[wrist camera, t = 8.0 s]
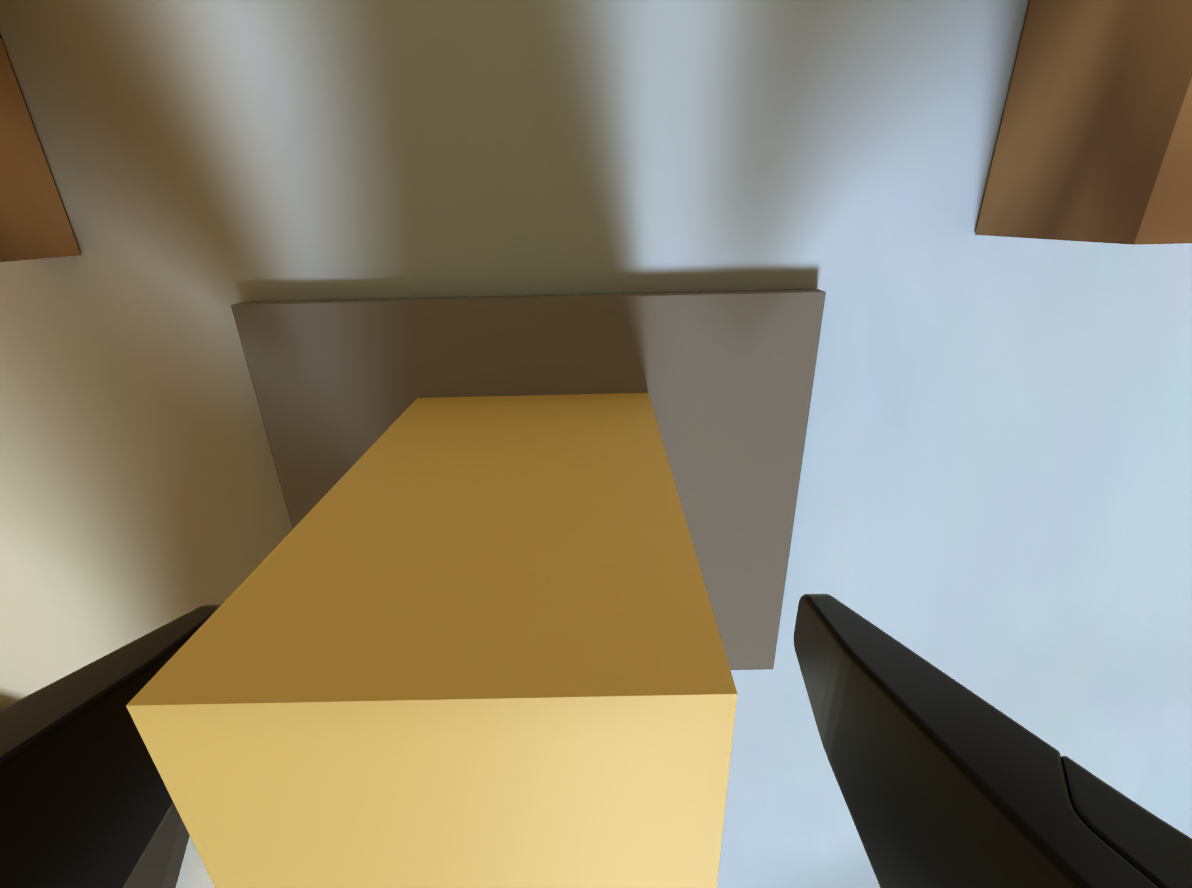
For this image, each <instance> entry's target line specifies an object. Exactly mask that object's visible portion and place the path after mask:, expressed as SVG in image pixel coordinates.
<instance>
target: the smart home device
mask: <svg viewBox="0 0 1192 888" xmlns="http://www.w3.org/2000/svg"><path fill="white" fill-rule="evenodd" d="M188 839H189V833H188V831H187V829H186V827H185V825H184V823H183V821H182V819H181V817H180V814H179V812H178V810H177V808H176V806H175V804H174V803H173V804H172V806H171V808H170V809H169V811H168V813H167V815H166V816H165V818H164V820H163V821H162V823H161V825H160V826H159V828H158V830H157V832H156V833H155V835H154V837H153V838H152V840H151V842H150V843H149V845H148V847H147V849H146V850H145V852H144V854H143V855H142V857H141V859H140V861H139V862H138V864H137V866H136V867H135V869H134V871H133V872H132V874H131V876H130V878H129V879H128V881H127V883H126V884H125V886H124V888H175V887H176V883H177V880H178V876H179V872H180V869H181V865H182V861H183V857H184V854H185V850H186V846H187V843H188Z"/></svg>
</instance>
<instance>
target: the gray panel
mask: <svg viewBox="0 0 1192 888" xmlns="http://www.w3.org/2000/svg"><path fill="white" fill-rule="evenodd" d="M825 293H826V292H824V291H821V290H819V289H812V290H767V291H723V292H678V293H633V294H588V295H544V296H499V297H454V298H409V299H364V300H320V301H275V302H242V303H238V304H234V305H231V307H232V311H233V314H234V318H235V321H236V325H237V329H238V332H239V336H240V339H241V343H242V347H243V350H244V354H245V357H246V361H247V365H248V368H249V372H250V375H251V379H252V383H253V386H254V390H255V393H256V397H257V401H258V404H259V408H260V411H261V415H262V419H263V422H264V426H265V429H266V433H267V437H268V440H269V444H270V447H271V451H272V455H273V458H274V462H275V465H276V469H277V473H278V476H279V480H280V483H281V487H282V491H283V494H284V498H285V501H286V505H287V509H288V512H289V516H290V519H291V523H292V527H293V529H294V528H295V527H296V525H297V524H298V523H299V522H300V521H301V520H302V519H303V518H304V517H305V516H306V515H307V514H308V513H309V512H310V511H311V510H312V509H313V507H314V506H315V505H316V504H317V503H318V502H319V501H320V500H321V499H322V498H323V497H324V496H325V495H326V494H327V493H328V492H329V491H330V490H331V488H332V487H333V486H334V485H335V484H336V483H337V482H338V481H339V480H340V479H341V478H342V477H343V476H344V475H345V474H346V473H347V472H348V471H349V469H350V468H351V467H352V466H353V465H354V464H355V463H356V462H357V461H358V460H359V459H360V458H361V457H362V456H363V455H364V454H365V453H366V451H367V450H368V449H369V448H370V447H371V446H372V445H373V444H374V443H375V442H376V441H377V440H378V439H379V438H380V437H381V436H382V435H383V434H384V432H385V431H386V430H387V429H388V428H389V427H390V426H391V425H392V424H393V423H394V422H395V421H396V420H397V419H398V418H399V417H400V416H401V414H402V413H403V412H404V411H405V410H406V409H407V408H408V407H409V406H410V405H411V404H412V403H413V402H414V401H415V400H416V399H417V398H439V397H483V396H527V395H571V394H615V393H648V394H649V398H650V401H651V404H652V408H653V411H654V414H655V418H656V421H657V425H658V428H659V431H660V435H661V438H662V441H663V445H664V448H665V452H666V455H667V458H668V462H669V465H670V468H671V472H672V475H673V479H674V482H675V485H676V489H677V492H678V495H679V499H680V502H681V506H682V509H683V512H684V516H685V519H686V522H687V526H688V529H689V533H690V536H691V539H692V543H693V546H694V549H695V553H696V556H697V560H698V563H699V566H700V570H701V573H702V576H703V580H704V583H705V587H706V590H707V593H708V597H709V600H710V603H711V607H712V610H713V614H714V617H715V620H716V624H717V627H718V630H719V634H720V637H721V641H722V644H723V647H724V651H725V654H726V657H727V661H728V664H729V668H730V670H753V669H773V666H774V659H775V652H776V645H777V637H778V630H779V623H780V616H781V609H782V602H783V594H784V587H785V580H786V573H787V566H788V559H789V551H790V544H791V537H792V530H793V523H794V516H795V508H796V501H797V494H798V487H799V480H800V473H801V465H802V458H803V451H804V444H805V437H806V430H807V422H808V415H809V408H810V401H811V394H812V387H813V379H814V372H815V365H816V358H817V351H818V344H819V336H820V329H821V322H822V315H823V308H824V301H825Z"/></svg>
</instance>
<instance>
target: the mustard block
mask: <svg viewBox="0 0 1192 888" xmlns="http://www.w3.org/2000/svg"><path fill="white" fill-rule="evenodd" d="M736 701H737V691H736V688H735V684H734V681H733V678H732V674H731V671H730V668H729V664H728V661H727V657H726V654H725V651H724V647H723V644H722V641H721V637H720V634H719V630H718V627H717V624H716V620H715V617H714V614H713V610H712V607H711V603H710V600H709V597H708V593H707V590H706V587H705V583H704V580H703V576H702V573H701V570H700V566H699V563H698V560H697V556H696V553H695V549H694V546H693V543H692V539H691V536H690V533H689V529H688V526H687V522H686V519H685V516H684V512H683V509H682V506H681V502H680V499H679V495H678V492H677V489H676V485H675V482H674V479H673V475H672V472H671V468H670V465H669V462H668V458H667V455H666V452H665V448H664V445H663V441H662V438H661V435H660V431H659V428H658V425H657V421H656V418H655V414H654V411H653V408H652V404H651V401H650V398H649V394H648V393H615V394H571V395H527V396H483V397H439V398H417V399H416V400H415V401H414V402H413V403H412V404H411V405H410V406H409V407H408V408H407V409H406V410H405V411H404V412H403V413H402V414H401V416H400V417H399V418H398V419H397V420H396V421H395V422H394V423H393V424H392V425H391V426H390V427H389V428H388V429H387V430H386V431H385V432H384V434H383V435H382V436H381V437H380V438H379V439H378V440H377V441H376V442H375V443H374V444H373V445H372V446H371V447H370V448H369V449H368V450H367V451H366V453H365V454H364V455H363V456H362V457H361V458H360V459H359V460H358V461H357V462H356V463H355V464H354V465H353V466H352V467H351V468H350V469H349V471H348V472H347V473H346V474H345V475H344V476H343V477H342V478H341V479H340V480H339V481H338V482H337V483H336V484H335V485H334V486H333V487H332V488H331V490H330V491H329V492H328V493H327V494H326V495H325V496H324V497H323V498H322V499H321V500H320V501H319V502H318V503H317V504H316V505H315V506H314V507H313V509H312V510H311V511H310V512H309V513H308V514H307V515H306V516H305V517H304V518H303V519H302V520H301V521H300V522H299V523H298V524H297V525H296V527H295V528H294V529H293V530H292V531H291V532H290V533H289V534H288V535H287V536H286V537H285V538H284V539H283V540H282V541H281V542H280V543H279V544H278V546H277V547H276V548H275V549H274V550H273V551H272V552H271V553H270V554H269V555H268V556H267V557H266V558H265V559H264V560H263V561H262V562H261V563H260V565H259V566H258V567H257V568H256V569H255V570H254V571H253V572H252V573H251V574H250V575H249V576H248V577H247V578H246V579H245V580H244V581H243V583H242V584H241V585H240V586H239V587H238V588H237V589H236V590H235V591H234V592H233V593H232V594H231V595H230V596H229V597H228V598H227V599H226V600H225V602H224V603H223V604H222V605H221V606H220V607H219V608H218V609H217V610H216V611H215V612H214V613H213V614H212V615H211V616H210V617H209V618H208V620H207V621H206V622H205V623H204V624H203V625H202V626H201V627H200V628H199V629H198V630H197V631H196V632H195V633H194V634H193V635H192V636H191V637H190V639H189V640H188V641H187V642H186V643H185V644H184V645H183V646H182V647H181V648H180V649H179V650H178V651H177V652H176V653H175V654H174V655H173V656H172V658H171V659H170V660H169V661H168V662H167V663H166V664H165V665H164V666H163V667H162V668H161V669H160V670H159V671H158V672H157V673H156V674H155V676H154V677H153V678H152V679H151V680H150V681H149V682H148V683H147V684H146V685H145V686H144V687H143V688H142V689H141V690H140V691H139V692H138V693H137V695H136V696H135V697H134V698H133V699H132V700H131V701H130V702H129V703H128V704H127V705H126V707H127V709H128V711H129V713H130V715H131V717H132V719H133V721H134V723H135V725H136V727H137V729H138V731H139V733H140V735H141V737H142V739H143V741H144V743H145V745H146V747H147V750H148V752H149V754H150V756H151V758H152V760H153V762H154V764H155V766H156V768H157V770H158V772H159V774H160V776H161V778H162V780H163V782H164V784H165V786H166V788H167V790H168V792H169V794H170V796H171V798H172V800H173V802H174V804H175V806H176V808H177V810H178V812H179V814H180V817H181V819H182V821H183V823H184V825H185V827H186V829H187V831H188V833H189V835H190V837H191V839H192V841H193V843H194V845H195V847H196V849H197V851H198V853H199V855H200V857H201V859H202V861H203V863H204V865H205V867H206V869H207V871H208V873H209V875H210V877H211V879H212V881H213V883H214V886H215V888H717V880H718V871H719V861H720V852H721V843H722V833H723V824H724V814H725V805H726V795H727V786H728V777H729V767H730V758H731V748H732V739H733V730H734V720H735V711H736Z"/></svg>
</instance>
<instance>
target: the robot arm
mask: <svg viewBox="0 0 1192 888" xmlns="http://www.w3.org/2000/svg"><path fill="white" fill-rule="evenodd" d="M220 606H221V605H205V606H201V607H199V608H197V609H195V610H193V611H191V612H189V613H187V614H185V615H183V616H181V617H179V618H178V619H176V620H174V621H172V622H170V623H168V624H166V625H164V626H162V627H160V628H158V629H156V630H154V631H152V632H150V633H148V634H147V635H145V636H143V637H141V638H139V639H137V640H135V641H133V642H131V643H129V644H127V645H125V646H123V647H121V648H119V649H118V650H116V651H114V652H112V653H110V654H108V655H106V656H104V657H102V658H100V659H98V660H96V661H94V662H92V663H90V664H88V665H87V666H85V667H83V668H81V669H79V670H77V671H75V672H73V673H71V674H69V675H67V676H65V677H63V678H61V679H59V680H57V681H56V682H54V683H52V684H50V685H48V686H46V687H44V688H42V689H40V690H38V691H36V692H34V693H32V694H30V695H28V696H26V697H25V698H23V699H21V700H19V701H17V702H15V703H13V704H11V705H9V706H7V707H5V708H3V709H1V710H0V888H124V886H125V884H126V883H127V881H128V879H129V878H130V876H131V874H132V872H133V871H134V869H135V867H136V866H137V864H138V862H139V861H140V859H141V857H142V855H143V854H144V852H145V850H146V849H147V847H148V845H149V843H150V842H151V840H152V838H153V837H154V835H155V833H156V832H157V830H158V828H159V826H160V825H161V823H162V821H163V820H164V818H165V816H166V815H167V813H168V811H169V809H170V808H171V806H172V804H173V803H174V802H173V800H172V798H171V796H170V794H169V792H168V790H167V788H166V786H165V784H164V782H163V780H162V778H161V776H160V774H159V772H158V770H157V768H156V766H155V764H154V762H153V760H152V758H151V756H150V754H149V752H148V750H147V747H146V745H145V743H144V741H143V739H142V737H141V735H140V733H139V731H138V729H137V727H136V725H135V723H134V721H133V719H132V717H131V715H130V713H129V711H128V709H127V707H126V705H127V704H128V703H129V702H130V701H131V700H132V699H133V698H134V697H135V696H136V695H137V693H138V692H139V691H140V690H141V689H142V688H143V687H144V686H145V685H146V684H147V683H148V682H149V681H150V680H151V679H152V678H153V677H154V676H155V674H156V673H157V672H158V671H159V670H160V669H161V668H162V667H163V666H164V665H165V664H166V663H167V662H168V661H169V660H170V659H171V658H172V656H173V655H174V654H175V653H176V652H177V651H178V650H179V649H180V648H181V647H182V646H183V645H184V644H185V643H186V642H187V641H188V640H189V639H190V637H191V636H192V635H193V634H194V633H195V632H196V631H197V630H198V629H199V628H200V627H201V626H202V625H203V624H204V623H205V622H206V621H207V620H208V618H209V617H210V616H211V615H212V614H213V613H214V612H215V611H216V610H217V609H218V608H219V607H220ZM794 646H795V651H796V655H797V658H798V662H799V665H800V669H801V672H802V676H803V679H804V683H805V686H806V689H807V693H808V696H809V700H810V703H811V707H812V710H813V714H814V717H815V721H816V724H817V728H818V731H819V734H820V737H821V741H822V744H823V747H824V749H825V752H826V754H827V757H828V760H829V762H830V765H831V767H832V770H833V772H834V775H835V777H836V780H837V782H838V784H839V787H840V789H841V792H842V794H843V797H844V799H845V802H846V804H847V807H848V809H849V812H850V814H851V816H852V819H853V821H854V824H855V826H856V829H857V831H858V834H859V836H860V839H861V841H862V843H863V846H864V848H865V851H866V853H867V856H868V858H869V861H870V863H871V866H872V868H873V870H874V873H875V875H876V878H877V880H878V883H879V885H880V888H1192V839H1191V838H1190V837H1188V836H1187V835H1185V834H1183V833H1182V832H1180V831H1179V830H1177V829H1175V828H1174V827H1172V826H1171V825H1169V824H1168V823H1166V822H1164V821H1163V820H1161V819H1160V818H1158V817H1156V816H1155V815H1153V814H1152V813H1150V812H1149V811H1147V810H1146V809H1144V808H1143V807H1141V806H1140V805H1138V804H1137V803H1135V802H1134V801H1132V800H1131V799H1129V798H1128V797H1126V796H1125V795H1123V794H1122V793H1120V792H1119V791H1117V790H1116V789H1114V788H1113V787H1111V786H1110V785H1108V784H1106V783H1105V782H1103V781H1102V780H1100V779H1099V778H1098V777H1096V776H1095V775H1093V774H1092V773H1090V772H1089V771H1087V770H1086V769H1084V768H1083V767H1081V766H1080V765H1078V764H1077V763H1076V762H1074V761H1073V760H1071V759H1070V758H1068V757H1066V756H1062V757H1061V756H1060V753H1059V751H1058V750H1056V749H1055V748H1053V747H1052V746H1050V745H1049V744H1047V743H1046V742H1044V741H1043V740H1042V739H1040V738H1039V737H1037V736H1036V735H1034V734H1033V733H1031V732H1030V731H1028V730H1027V729H1025V728H1024V727H1023V726H1021V725H1020V724H1018V723H1017V722H1015V721H1014V720H1012V719H1011V718H1009V717H1008V716H1006V715H1005V714H1003V713H1002V712H1001V711H999V710H998V709H996V708H995V707H993V706H992V705H990V704H989V703H987V702H986V701H984V700H983V699H982V698H980V697H979V696H977V695H976V694H974V693H973V692H971V691H970V690H968V689H967V688H965V687H964V686H963V685H961V684H960V683H958V682H957V681H955V680H954V679H952V678H951V677H949V676H948V675H946V674H945V673H943V672H942V671H941V670H939V669H938V668H936V667H935V666H933V665H932V664H930V663H929V662H927V661H926V660H924V659H923V658H922V657H920V656H919V655H917V654H916V653H914V652H913V651H911V650H910V649H908V648H907V647H905V646H904V645H902V644H901V643H900V642H898V641H897V640H895V639H894V638H892V637H891V636H889V635H888V634H886V633H885V632H883V631H882V630H881V629H879V628H878V627H876V626H875V625H873V624H872V623H870V622H869V621H867V620H866V619H864V618H863V617H862V616H860V615H859V614H857V613H856V612H854V611H853V610H851V609H850V608H848V607H847V606H845V605H844V604H842V603H841V602H840V601H838V600H837V599H835V598H834V597H832V596H830V595H828V594H805V595H803V596H802V597H801V599H800V601H799V605H798V612H797V618H796V625H795V631H794Z"/></svg>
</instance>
